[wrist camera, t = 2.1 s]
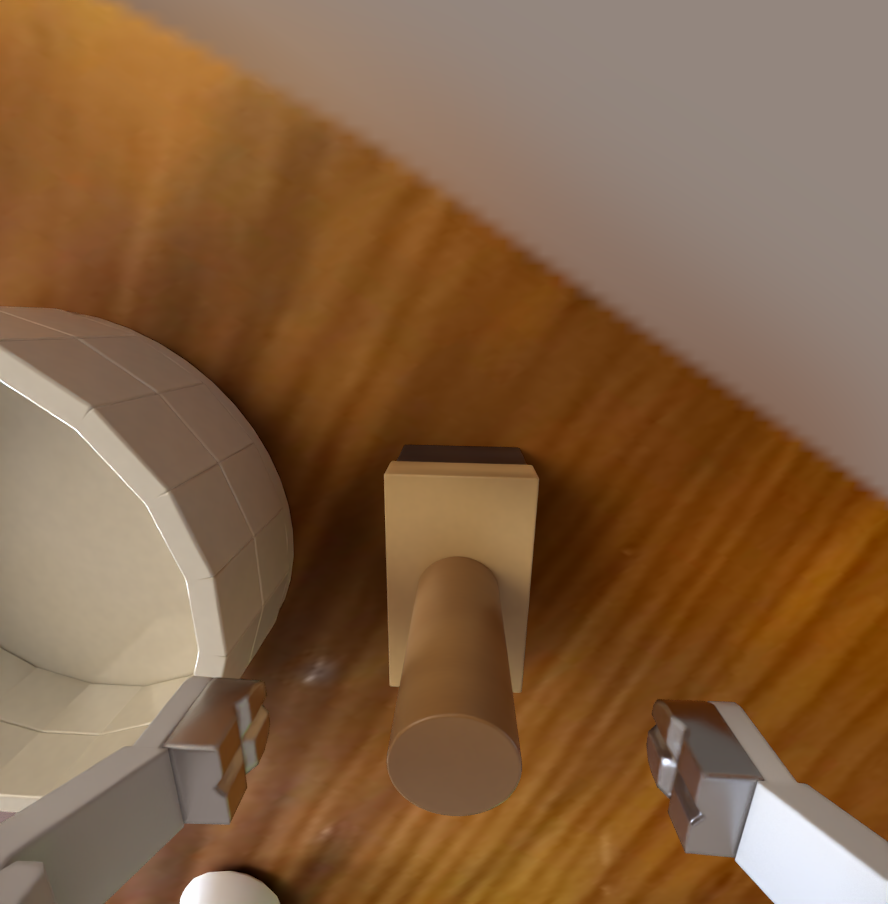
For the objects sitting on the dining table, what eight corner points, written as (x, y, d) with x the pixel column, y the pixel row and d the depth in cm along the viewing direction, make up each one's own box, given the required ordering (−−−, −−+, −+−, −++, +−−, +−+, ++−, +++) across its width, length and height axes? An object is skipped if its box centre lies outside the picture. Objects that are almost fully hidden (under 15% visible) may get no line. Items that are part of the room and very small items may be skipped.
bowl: (-183, 305, 14) (-506, 296, 10) (272, 312, 14) (170, 305, 9) (-40, 679, 19) (-212, 799, 14) (309, 696, 18) (254, 829, 13)
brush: (401, 441, 15) (321, 586, 7) (523, 444, 15) (599, 597, 6) (403, 617, 17) (346, 895, 9) (510, 621, 17) (555, 910, 8)
